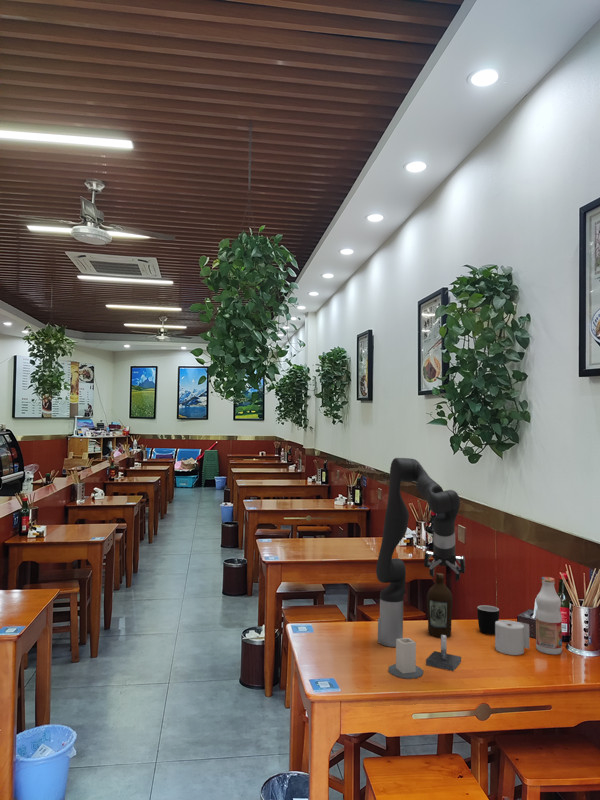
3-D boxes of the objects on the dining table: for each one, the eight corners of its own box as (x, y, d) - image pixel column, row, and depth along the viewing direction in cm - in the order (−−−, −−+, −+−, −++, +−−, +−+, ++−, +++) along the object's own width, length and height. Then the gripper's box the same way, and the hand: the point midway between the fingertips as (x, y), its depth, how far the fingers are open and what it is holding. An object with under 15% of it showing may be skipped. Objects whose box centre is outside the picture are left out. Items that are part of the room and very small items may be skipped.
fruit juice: (531, 646, 227) (531, 575, 229) (554, 646, 227) (554, 575, 229) (542, 655, 218) (542, 580, 220) (566, 655, 218) (565, 581, 220)
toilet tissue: (489, 649, 222) (489, 623, 223) (506, 642, 230) (505, 617, 231) (515, 657, 214) (515, 630, 215) (531, 650, 222) (530, 624, 223)
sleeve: (402, 673, 195) (403, 643, 196) (395, 668, 200) (396, 639, 201) (415, 672, 197) (415, 642, 198) (408, 666, 202) (408, 637, 202)
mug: (502, 635, 239) (502, 611, 239) (482, 635, 238) (482, 611, 239) (491, 626, 251) (491, 603, 251) (471, 626, 250) (471, 603, 251)
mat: (383, 673, 196) (383, 671, 196) (395, 662, 207) (395, 660, 207) (416, 681, 190) (416, 679, 190) (427, 669, 200) (427, 668, 200)
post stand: (425, 665, 205) (426, 636, 206) (434, 656, 213) (434, 629, 214) (453, 671, 200) (453, 642, 201) (461, 662, 208) (461, 634, 209)
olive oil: (428, 628, 246) (429, 570, 248) (454, 632, 242) (454, 572, 244) (424, 636, 236) (425, 575, 238) (450, 640, 232) (451, 578, 234)
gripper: (466, 538, 200) (466, 574, 206) (426, 532, 206) (426, 568, 212) (463, 551, 194) (463, 588, 200) (422, 544, 199) (423, 581, 206)
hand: (444, 577), depth 206 cm, fingers open, 8 cm apart
